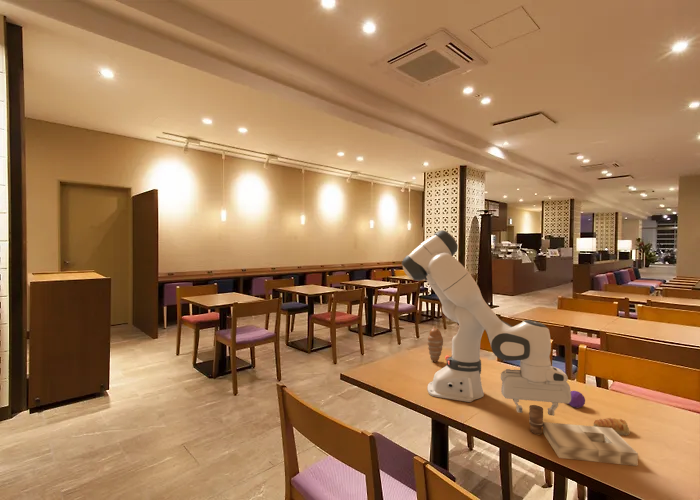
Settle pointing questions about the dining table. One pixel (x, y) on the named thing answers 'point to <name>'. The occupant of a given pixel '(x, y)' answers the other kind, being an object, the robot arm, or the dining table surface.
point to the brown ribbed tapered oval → (435, 344)
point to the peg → (536, 419)
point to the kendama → (577, 399)
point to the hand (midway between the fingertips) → (535, 413)
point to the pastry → (613, 425)
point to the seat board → (589, 443)
